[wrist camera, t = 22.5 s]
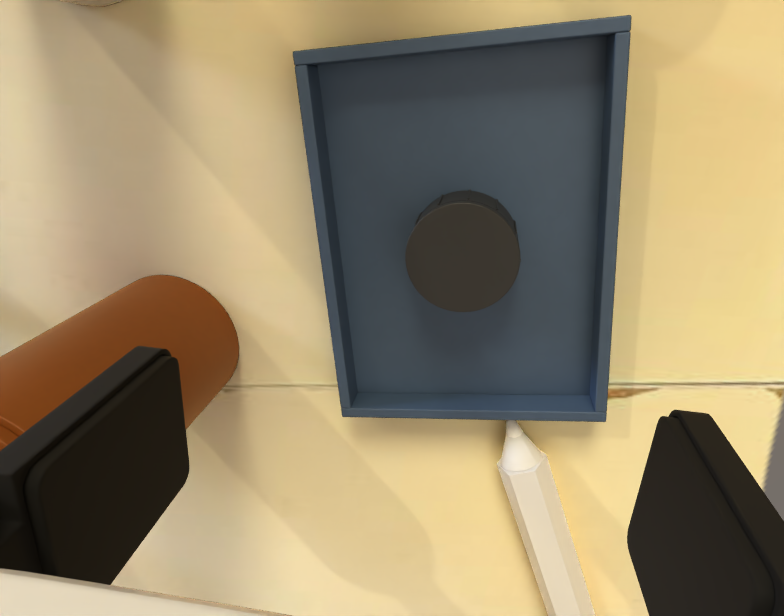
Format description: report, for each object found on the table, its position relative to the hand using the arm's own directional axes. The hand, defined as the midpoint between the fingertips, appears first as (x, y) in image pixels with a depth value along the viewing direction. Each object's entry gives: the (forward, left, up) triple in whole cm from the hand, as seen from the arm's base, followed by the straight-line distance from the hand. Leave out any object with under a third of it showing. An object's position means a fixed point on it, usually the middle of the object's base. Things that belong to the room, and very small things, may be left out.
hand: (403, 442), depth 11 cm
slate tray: (0, 0, -15) cm, 15 cm away
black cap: (0, 0, -12) cm, 12 cm away
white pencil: (-10, -13, -15) cm, 22 cm away
